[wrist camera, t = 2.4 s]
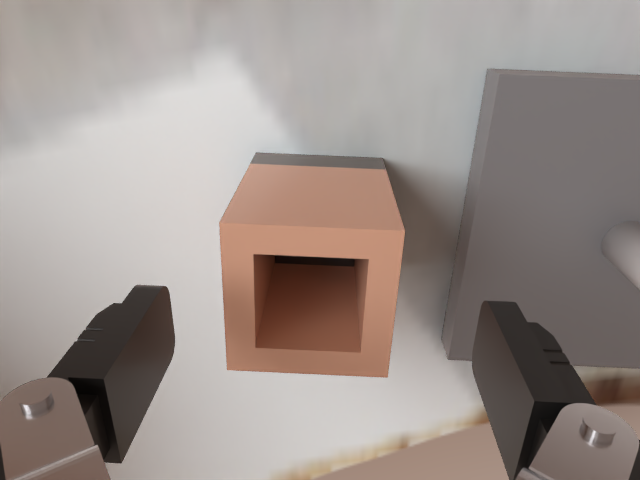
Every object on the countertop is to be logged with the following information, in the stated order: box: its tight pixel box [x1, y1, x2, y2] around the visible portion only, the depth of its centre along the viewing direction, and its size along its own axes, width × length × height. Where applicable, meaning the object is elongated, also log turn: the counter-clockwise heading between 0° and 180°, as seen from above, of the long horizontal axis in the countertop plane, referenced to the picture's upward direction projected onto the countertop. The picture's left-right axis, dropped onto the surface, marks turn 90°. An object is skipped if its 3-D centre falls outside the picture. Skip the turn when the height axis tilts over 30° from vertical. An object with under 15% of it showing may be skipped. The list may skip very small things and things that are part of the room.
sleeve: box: [219, 153, 405, 378], centre depth 18 cm, size 5×5×7 cm
